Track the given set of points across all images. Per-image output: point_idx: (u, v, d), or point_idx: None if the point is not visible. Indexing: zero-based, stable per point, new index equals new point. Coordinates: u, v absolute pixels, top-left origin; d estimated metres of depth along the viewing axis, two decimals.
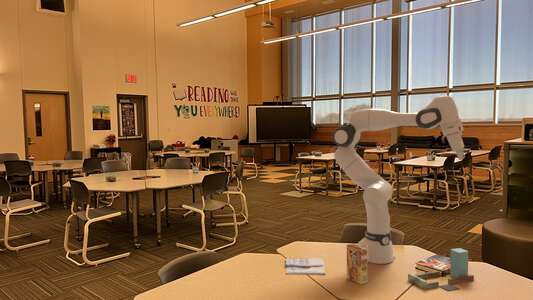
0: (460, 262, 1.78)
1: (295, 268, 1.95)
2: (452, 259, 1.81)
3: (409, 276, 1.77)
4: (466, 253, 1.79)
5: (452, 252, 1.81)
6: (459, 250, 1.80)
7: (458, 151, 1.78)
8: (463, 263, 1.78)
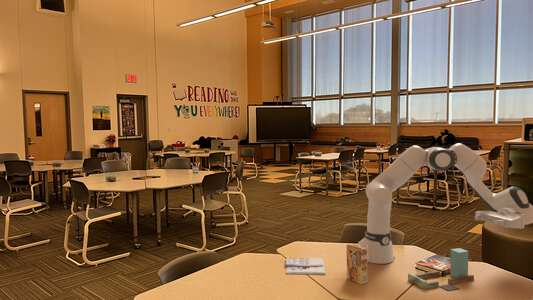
0: (460, 262, 1.78)
1: (295, 268, 1.95)
2: (452, 259, 1.81)
3: (409, 276, 1.77)
4: (466, 253, 1.79)
5: (452, 252, 1.81)
6: (459, 250, 1.80)
7: (503, 222, 1.80)
8: (463, 263, 1.78)
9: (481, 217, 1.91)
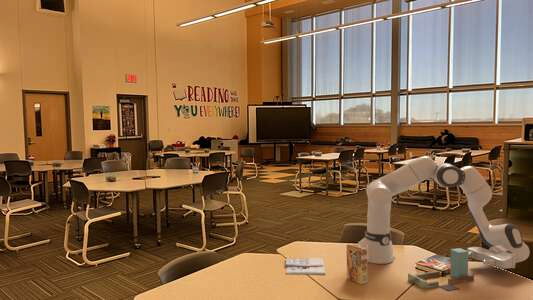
0: (460, 262, 1.78)
1: (295, 268, 1.95)
2: (452, 259, 1.81)
3: (409, 276, 1.77)
4: (466, 253, 1.79)
5: (452, 252, 1.81)
6: (459, 250, 1.80)
7: (494, 262, 1.79)
8: (463, 263, 1.78)
9: (472, 254, 1.90)
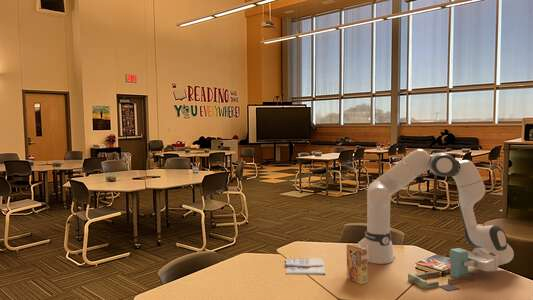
0: (460, 262, 1.78)
1: (295, 268, 1.95)
2: (452, 259, 1.81)
3: (409, 276, 1.77)
4: (466, 253, 1.79)
5: (452, 252, 1.81)
6: (459, 250, 1.80)
7: (473, 264, 1.77)
8: None
9: None
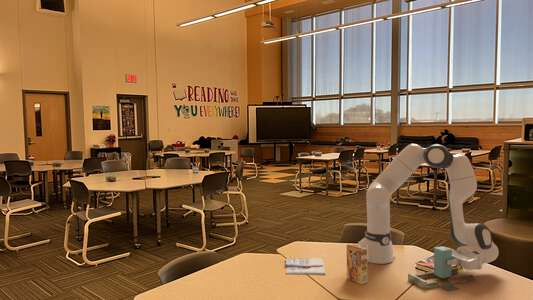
0: (443, 260, 1.75)
1: (295, 268, 1.95)
2: (435, 257, 1.78)
3: (409, 276, 1.77)
4: (449, 252, 1.76)
5: (435, 250, 1.78)
6: (443, 248, 1.77)
7: (457, 262, 1.74)
8: None
9: None
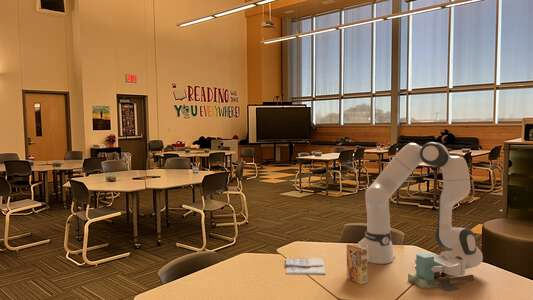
0: (425, 268, 1.72)
1: (295, 268, 1.95)
2: (418, 264, 1.75)
3: (409, 276, 1.77)
4: (432, 259, 1.73)
5: (418, 257, 1.75)
6: (425, 255, 1.74)
7: (441, 269, 1.70)
8: (428, 269, 1.72)
9: None
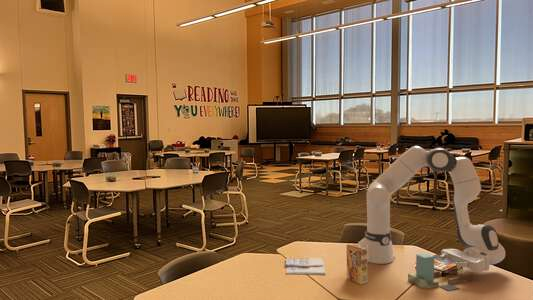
0: (425, 268, 1.72)
1: (295, 268, 1.95)
2: (418, 264, 1.75)
3: (409, 276, 1.77)
4: (432, 259, 1.73)
5: (418, 257, 1.75)
6: (425, 255, 1.74)
7: (467, 264, 1.74)
8: (428, 269, 1.72)
9: (446, 256, 1.85)
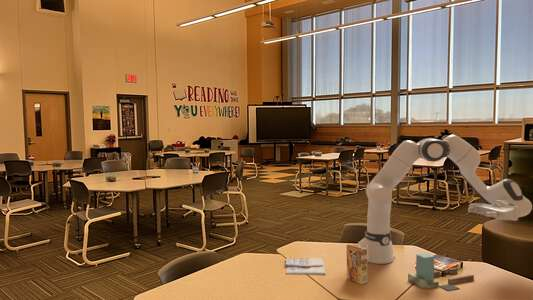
0: (425, 268, 1.72)
1: (295, 268, 1.95)
2: (418, 264, 1.75)
3: (409, 276, 1.77)
4: (432, 259, 1.73)
5: (418, 257, 1.75)
6: (425, 255, 1.74)
7: (496, 214, 1.78)
8: (428, 269, 1.72)
9: (474, 209, 1.89)
